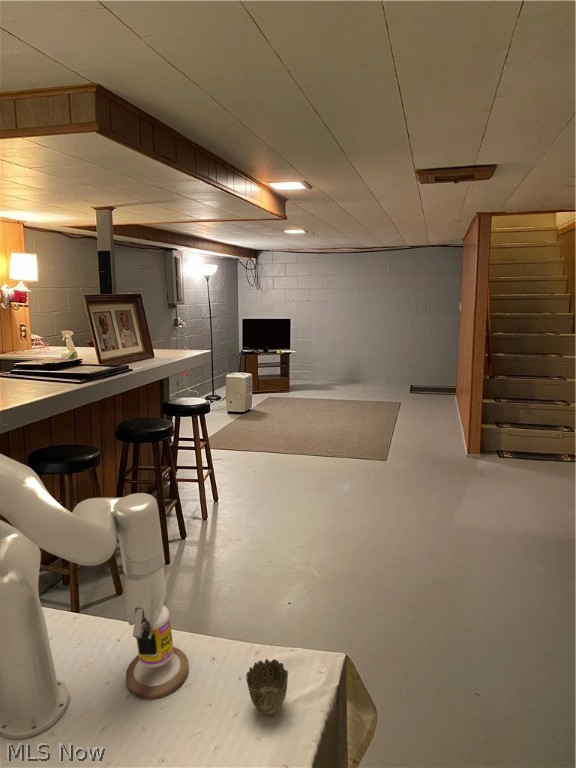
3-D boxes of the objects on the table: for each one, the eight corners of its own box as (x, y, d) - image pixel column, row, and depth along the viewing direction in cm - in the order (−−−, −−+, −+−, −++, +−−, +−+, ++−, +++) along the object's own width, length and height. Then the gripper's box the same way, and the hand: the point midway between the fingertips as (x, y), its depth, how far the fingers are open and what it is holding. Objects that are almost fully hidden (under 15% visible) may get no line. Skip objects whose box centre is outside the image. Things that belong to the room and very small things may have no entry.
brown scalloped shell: (242, 702, 104) (239, 667, 102) (278, 687, 107) (276, 652, 105) (259, 734, 98) (256, 697, 95) (296, 716, 101) (295, 680, 98)
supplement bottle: (165, 671, 106) (158, 614, 102) (133, 667, 107) (124, 611, 104) (179, 645, 112) (172, 591, 109) (148, 641, 114) (140, 588, 110)
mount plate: (117, 698, 106) (116, 691, 105) (138, 651, 117) (137, 644, 117) (180, 700, 105) (179, 692, 104) (194, 652, 116) (194, 645, 116)
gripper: (138, 533, 112) (149, 608, 117) (106, 589, 96) (119, 673, 101) (175, 533, 112) (184, 609, 117) (149, 589, 95) (160, 674, 100)
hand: (154, 638), depth 109 cm, fingers closed on supplement bottle, 6 cm apart
